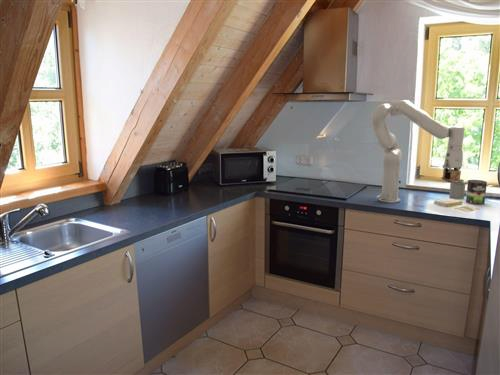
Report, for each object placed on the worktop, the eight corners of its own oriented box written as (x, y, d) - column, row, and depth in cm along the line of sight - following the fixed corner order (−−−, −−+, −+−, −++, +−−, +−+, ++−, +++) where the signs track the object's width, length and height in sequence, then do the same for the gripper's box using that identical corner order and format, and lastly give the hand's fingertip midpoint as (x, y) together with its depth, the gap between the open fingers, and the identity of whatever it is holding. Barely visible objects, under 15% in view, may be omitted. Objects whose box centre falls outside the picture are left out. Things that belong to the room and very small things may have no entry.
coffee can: (487, 206, 251) (489, 183, 248) (468, 206, 253) (470, 182, 250) (481, 202, 261) (483, 179, 258) (462, 202, 263) (465, 179, 260)
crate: (452, 181, 245) (453, 171, 244) (442, 179, 252) (443, 169, 250) (459, 180, 248) (461, 170, 247) (449, 178, 254) (450, 168, 253)
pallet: (467, 213, 237) (467, 211, 237) (453, 210, 245) (453, 208, 244) (480, 211, 242) (480, 209, 242) (465, 207, 250) (466, 205, 249)
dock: (446, 208, 247) (447, 203, 247) (433, 205, 255) (434, 200, 254) (461, 206, 253) (462, 201, 252) (448, 202, 261) (449, 198, 260)
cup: (462, 198, 272) (464, 182, 270) (464, 201, 265) (466, 185, 263) (448, 197, 275) (449, 182, 273) (449, 200, 268) (451, 184, 265)
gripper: (450, 149, 239) (446, 180, 243) (470, 147, 246) (466, 178, 250) (438, 147, 245) (435, 178, 249) (459, 146, 253) (455, 176, 257)
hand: (451, 178), depth 250 cm, fingers closed on crate, 6 cm apart
